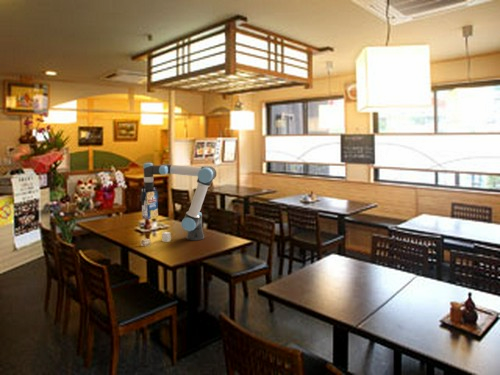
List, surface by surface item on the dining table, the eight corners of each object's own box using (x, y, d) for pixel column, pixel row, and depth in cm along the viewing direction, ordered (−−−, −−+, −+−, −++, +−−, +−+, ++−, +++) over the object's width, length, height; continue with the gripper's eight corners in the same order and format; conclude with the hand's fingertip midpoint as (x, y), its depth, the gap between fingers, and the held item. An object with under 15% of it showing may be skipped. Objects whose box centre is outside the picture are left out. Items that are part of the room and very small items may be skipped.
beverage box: (142, 218, 301) (141, 192, 299) (152, 216, 310) (151, 190, 308) (147, 219, 297) (146, 192, 295) (158, 217, 307) (157, 191, 304)
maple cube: (150, 245, 294) (150, 239, 293) (145, 246, 290) (144, 240, 289) (146, 244, 297) (146, 238, 296) (141, 245, 293) (140, 239, 292)
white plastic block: (170, 240, 308) (170, 232, 308) (167, 242, 304) (167, 233, 303) (165, 239, 310) (165, 231, 309) (162, 241, 306) (162, 233, 305)
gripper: (157, 180, 312) (158, 205, 314) (133, 182, 293) (135, 209, 296) (162, 180, 307) (163, 206, 310) (139, 183, 289) (141, 210, 291)
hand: (149, 208), depth 303 cm, fingers closed on beverage box, 11 cm apart
